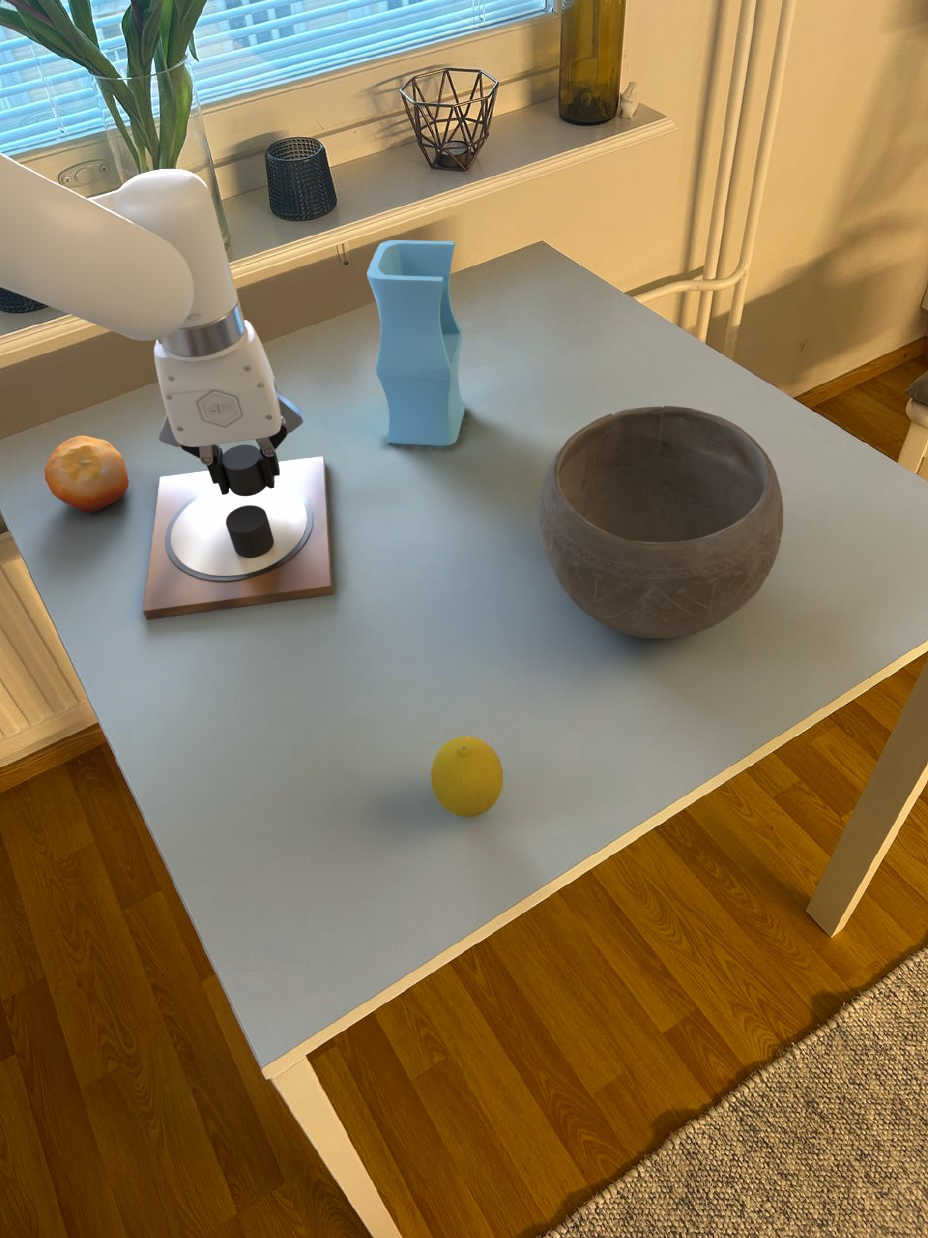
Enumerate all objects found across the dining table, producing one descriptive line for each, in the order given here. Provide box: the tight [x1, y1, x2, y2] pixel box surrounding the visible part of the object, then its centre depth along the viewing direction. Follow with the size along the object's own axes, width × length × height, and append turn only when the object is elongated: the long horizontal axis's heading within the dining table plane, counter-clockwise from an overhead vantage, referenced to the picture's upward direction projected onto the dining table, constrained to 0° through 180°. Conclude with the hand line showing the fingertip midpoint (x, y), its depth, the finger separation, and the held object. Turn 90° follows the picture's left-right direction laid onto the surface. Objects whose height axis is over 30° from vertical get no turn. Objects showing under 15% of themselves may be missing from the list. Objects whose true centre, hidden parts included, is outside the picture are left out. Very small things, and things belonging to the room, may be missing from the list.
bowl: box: [538, 405, 784, 640], centre depth 83 cm, size 21×21×15 cm
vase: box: [366, 239, 466, 447], centre depth 100 cm, size 8×8×20 cm
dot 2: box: [226, 505, 274, 558], centre depth 93 cm, size 4×4×4 cm
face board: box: [142, 455, 333, 620], centre depth 96 cm, size 18×20×1 cm
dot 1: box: [221, 444, 267, 496], centre depth 94 cm, size 4×4×4 cm
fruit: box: [44, 435, 130, 514], centre depth 100 cm, size 8×8×8 cm
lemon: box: [430, 735, 504, 818], centre depth 72 cm, size 6×6×8 cm
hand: (248, 481), depth 96 cm, fingers closed on dot 1, 4 cm apart
